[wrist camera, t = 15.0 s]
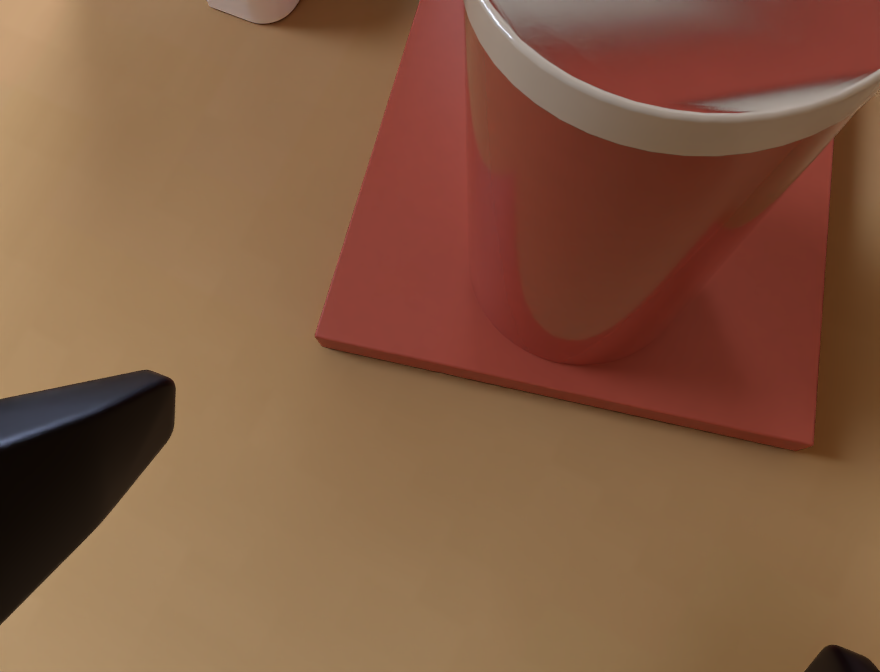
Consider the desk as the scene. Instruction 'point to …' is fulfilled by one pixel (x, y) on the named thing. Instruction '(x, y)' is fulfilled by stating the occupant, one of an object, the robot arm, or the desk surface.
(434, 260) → the board
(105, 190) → the desk surface
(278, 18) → the white slotted bracket
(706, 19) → the red tumbler
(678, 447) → the desk surface
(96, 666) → the desk surface
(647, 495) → the desk surface
